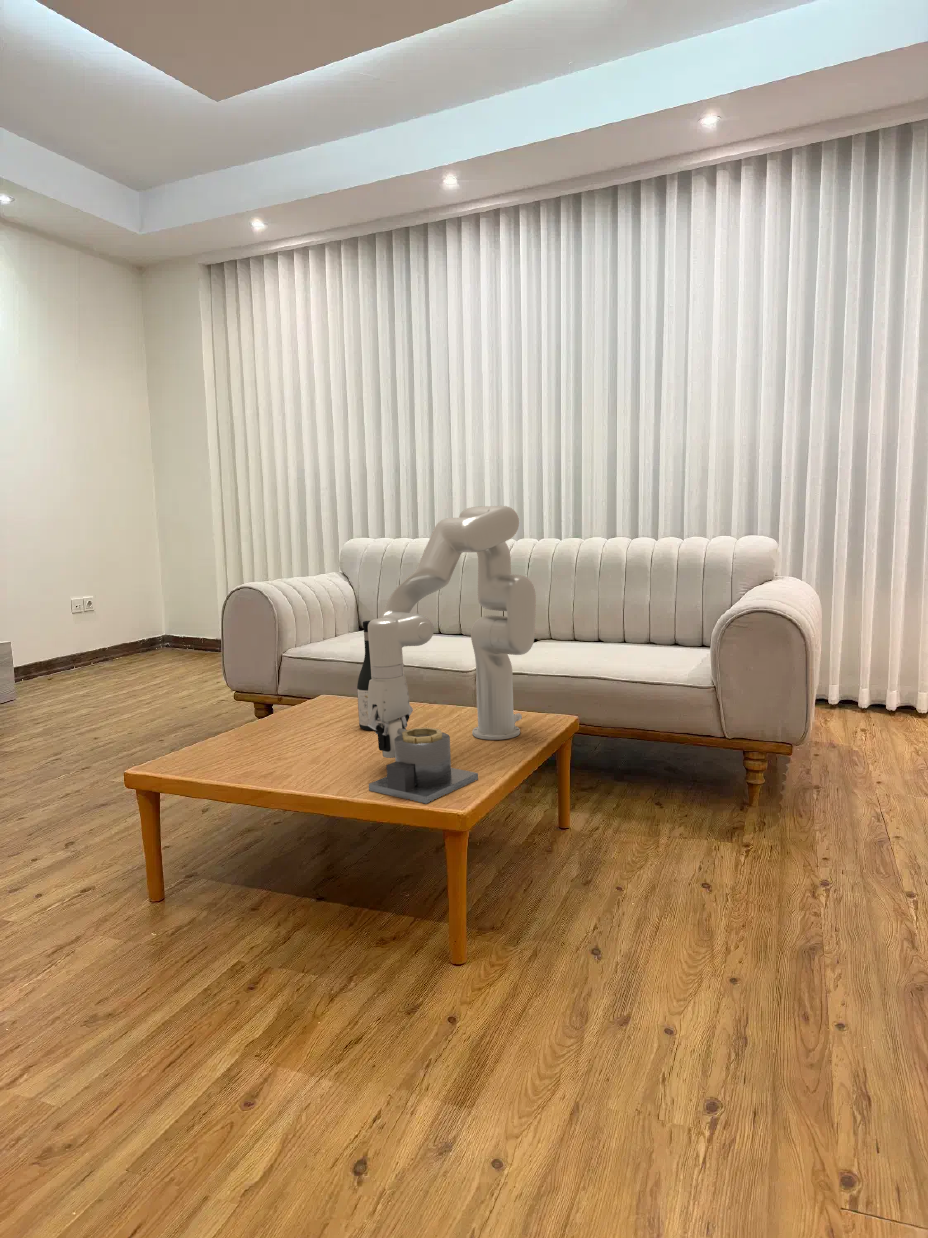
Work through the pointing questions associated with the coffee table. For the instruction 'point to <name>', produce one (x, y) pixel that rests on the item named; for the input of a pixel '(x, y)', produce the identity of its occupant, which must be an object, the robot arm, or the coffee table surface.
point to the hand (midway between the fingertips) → (392, 746)
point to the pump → (393, 736)
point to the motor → (422, 767)
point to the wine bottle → (364, 683)
